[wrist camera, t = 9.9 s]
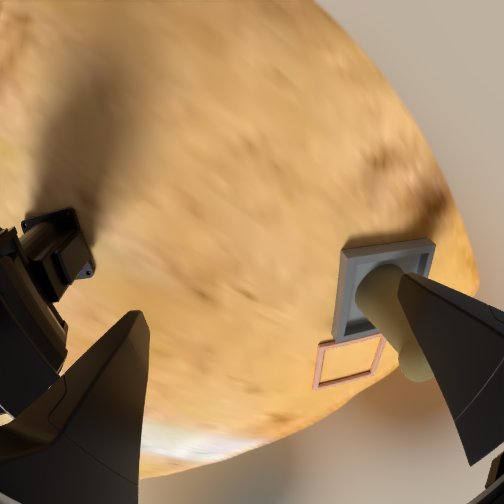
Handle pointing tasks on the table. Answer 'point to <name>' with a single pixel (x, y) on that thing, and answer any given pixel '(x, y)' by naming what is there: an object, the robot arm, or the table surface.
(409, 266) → the lower port socket
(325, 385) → the frame
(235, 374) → the table surface
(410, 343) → the cork
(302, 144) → the table surface
